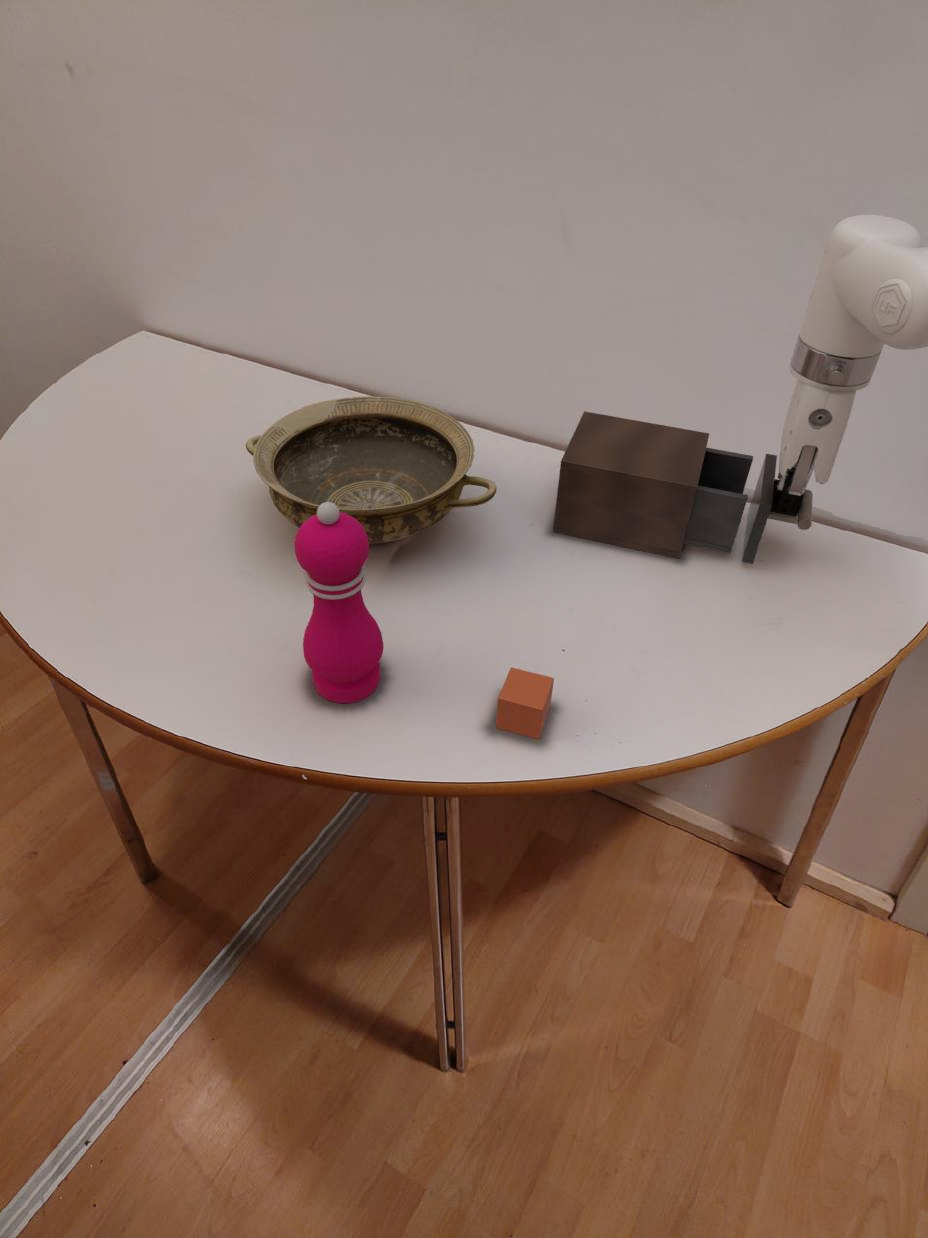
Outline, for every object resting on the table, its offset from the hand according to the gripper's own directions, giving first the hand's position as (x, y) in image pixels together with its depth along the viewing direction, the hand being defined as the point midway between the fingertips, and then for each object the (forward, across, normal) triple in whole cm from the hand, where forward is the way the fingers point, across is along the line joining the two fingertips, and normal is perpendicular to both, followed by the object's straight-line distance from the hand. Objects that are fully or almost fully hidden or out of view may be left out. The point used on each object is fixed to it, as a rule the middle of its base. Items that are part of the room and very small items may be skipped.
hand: (779, 515), depth 91 cm
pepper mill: (+4, -35, +37) cm, 51 cm away
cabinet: (+4, 0, +17) cm, 17 cm away
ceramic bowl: (+5, -11, +45) cm, 46 cm away
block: (+4, -34, +20) cm, 40 cm away
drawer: (+3, 0, +6) cm, 7 cm away
